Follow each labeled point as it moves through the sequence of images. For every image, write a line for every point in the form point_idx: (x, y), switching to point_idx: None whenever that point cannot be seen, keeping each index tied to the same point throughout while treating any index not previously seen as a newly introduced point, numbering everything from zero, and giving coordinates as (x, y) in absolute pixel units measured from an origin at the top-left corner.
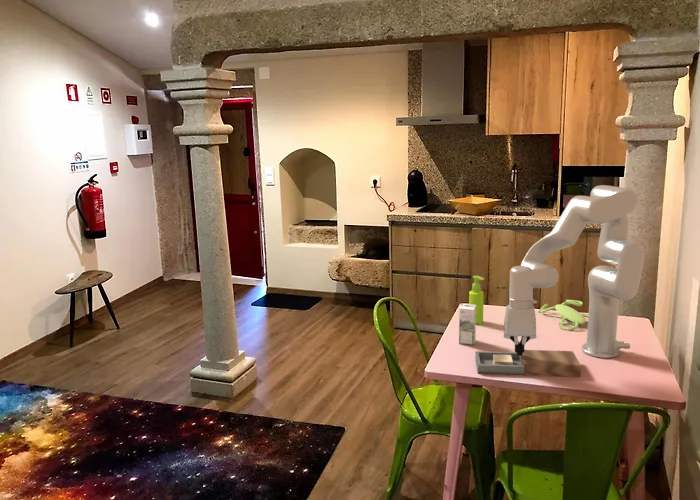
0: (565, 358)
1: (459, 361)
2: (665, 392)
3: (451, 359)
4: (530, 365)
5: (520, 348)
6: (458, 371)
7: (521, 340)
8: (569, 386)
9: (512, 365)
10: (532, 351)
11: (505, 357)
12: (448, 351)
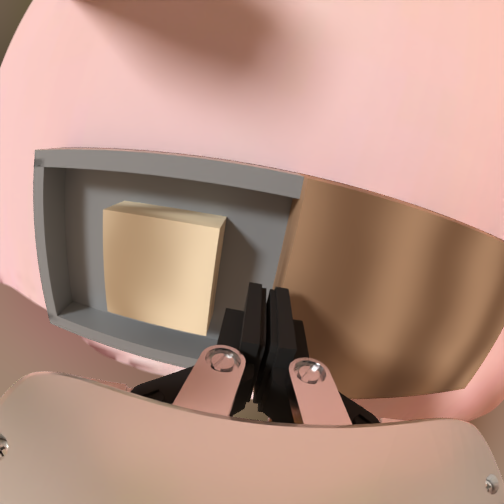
0: (473, 337)
1: (18, 178)
2: (501, 396)
3: (2, 159)
4: None
5: (255, 382)
6: (21, 272)
7: (280, 400)
8: (372, 413)
9: (195, 362)
10: (393, 230)
11: (171, 267)
12: (10, 80)
